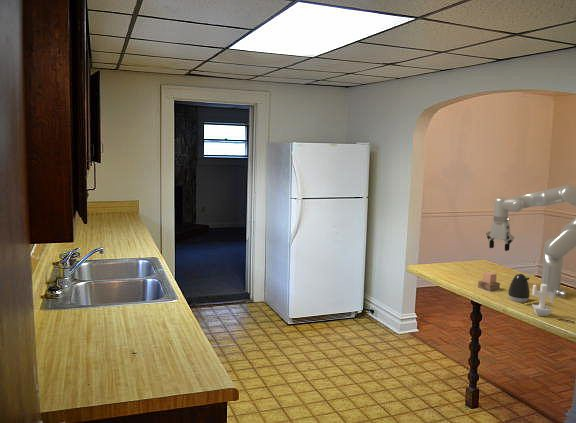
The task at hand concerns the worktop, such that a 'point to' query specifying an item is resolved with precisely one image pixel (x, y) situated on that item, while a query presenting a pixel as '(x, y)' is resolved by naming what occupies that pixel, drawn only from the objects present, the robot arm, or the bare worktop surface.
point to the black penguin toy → (519, 289)
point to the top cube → (489, 277)
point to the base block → (488, 286)
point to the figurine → (542, 300)
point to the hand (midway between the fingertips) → (499, 249)
